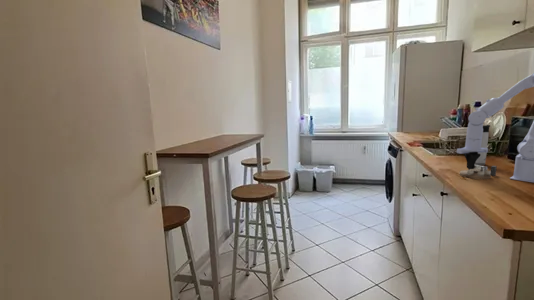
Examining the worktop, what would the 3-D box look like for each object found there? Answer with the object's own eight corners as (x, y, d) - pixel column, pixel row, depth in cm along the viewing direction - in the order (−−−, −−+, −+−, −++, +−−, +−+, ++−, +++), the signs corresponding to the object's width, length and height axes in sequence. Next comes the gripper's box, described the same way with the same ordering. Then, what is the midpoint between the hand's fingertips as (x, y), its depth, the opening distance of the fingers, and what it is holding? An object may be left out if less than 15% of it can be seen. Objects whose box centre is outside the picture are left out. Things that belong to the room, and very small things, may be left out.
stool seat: (493, 176, 124) (494, 169, 124) (485, 180, 118) (486, 173, 117) (464, 171, 133) (465, 165, 132) (455, 175, 126) (456, 168, 126)
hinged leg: (487, 172, 124) (488, 166, 124) (483, 173, 124) (484, 167, 123) (471, 169, 131) (472, 163, 130) (468, 169, 130) (468, 163, 130)
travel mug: (488, 165, 144) (493, 125, 141) (473, 165, 146) (478, 125, 142) (481, 162, 150) (486, 124, 147) (467, 162, 152) (471, 124, 148)
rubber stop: (495, 174, 126) (496, 166, 125) (493, 175, 125) (495, 167, 124) (491, 174, 127) (492, 165, 127) (490, 175, 126) (491, 166, 125)
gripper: (479, 137, 132) (475, 165, 134) (452, 137, 129) (449, 167, 131) (494, 139, 125) (489, 169, 127) (466, 140, 122) (462, 171, 124)
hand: (470, 168), depth 129 cm, fingers closed, pressing on hinged leg
